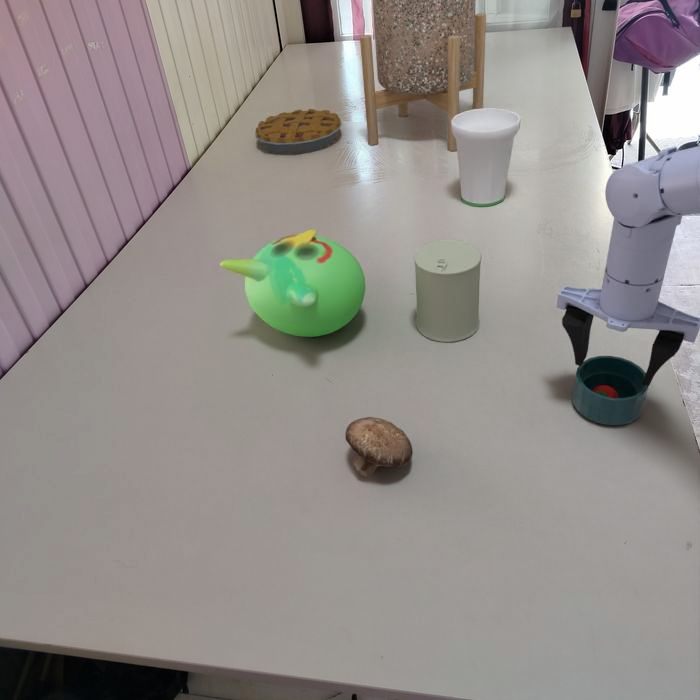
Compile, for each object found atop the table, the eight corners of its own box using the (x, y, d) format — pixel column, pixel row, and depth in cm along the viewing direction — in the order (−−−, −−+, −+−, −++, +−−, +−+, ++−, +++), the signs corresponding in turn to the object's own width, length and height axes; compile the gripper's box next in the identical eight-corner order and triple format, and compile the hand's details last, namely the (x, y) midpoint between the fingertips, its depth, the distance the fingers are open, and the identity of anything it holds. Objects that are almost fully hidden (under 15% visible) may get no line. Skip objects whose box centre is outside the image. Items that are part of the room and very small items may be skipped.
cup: (485, 178, 132) (488, 103, 122) (529, 197, 123) (535, 118, 113) (437, 197, 127) (437, 120, 117) (479, 218, 118) (482, 137, 109)
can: (407, 336, 92) (404, 265, 85) (426, 301, 99) (425, 232, 91) (470, 347, 89) (472, 274, 81) (485, 310, 95) (489, 239, 88)
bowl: (643, 390, 79) (650, 362, 76) (639, 434, 74) (646, 406, 71) (576, 377, 82) (581, 350, 79) (567, 419, 76) (571, 392, 74)
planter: (457, 152, 144) (457, -9, 124) (366, 146, 153) (353, -5, 133) (484, 118, 159) (488, -30, 139) (400, 114, 168) (392, -25, 148)
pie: (341, 152, 150) (339, 131, 147) (251, 160, 152) (246, 140, 149) (344, 121, 167) (342, 101, 164) (263, 128, 169) (259, 109, 166)
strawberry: (624, 390, 76) (617, 387, 73) (617, 415, 76) (609, 414, 73) (597, 383, 78) (589, 380, 75) (590, 408, 78) (582, 406, 75)
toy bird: (387, 310, 98) (381, 224, 89) (327, 374, 87) (312, 284, 78) (294, 284, 106) (279, 203, 97) (228, 340, 96) (205, 256, 87)
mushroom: (342, 480, 68) (361, 427, 67) (329, 451, 76) (346, 403, 75) (408, 496, 70) (428, 444, 69) (389, 466, 78) (406, 419, 77)
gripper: (552, 273, 67) (540, 371, 75) (702, 308, 60) (671, 411, 68) (574, 243, 71) (561, 338, 80) (717, 272, 64) (686, 373, 73)
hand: (613, 370), depth 74 cm, fingers open, 7 cm apart
